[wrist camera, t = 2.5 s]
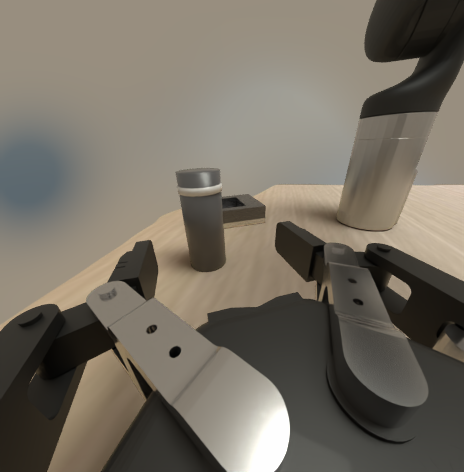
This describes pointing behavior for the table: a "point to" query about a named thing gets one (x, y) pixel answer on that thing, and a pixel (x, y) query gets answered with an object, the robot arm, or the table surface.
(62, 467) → the table surface
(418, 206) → the table surface
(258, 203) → the dark rectangular frame
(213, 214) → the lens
